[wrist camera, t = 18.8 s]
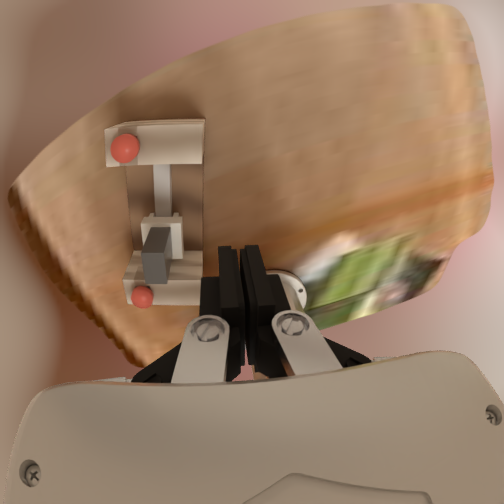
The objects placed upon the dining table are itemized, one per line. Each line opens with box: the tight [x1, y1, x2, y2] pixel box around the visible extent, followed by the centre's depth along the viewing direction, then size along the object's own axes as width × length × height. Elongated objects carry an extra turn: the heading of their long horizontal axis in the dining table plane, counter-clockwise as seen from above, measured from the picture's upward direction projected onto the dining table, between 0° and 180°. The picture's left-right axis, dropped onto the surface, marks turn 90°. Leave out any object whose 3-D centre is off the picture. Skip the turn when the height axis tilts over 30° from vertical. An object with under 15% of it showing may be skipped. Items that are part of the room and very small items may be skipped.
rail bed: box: [105, 118, 205, 305], centre depth 33 cm, size 22×10×8 cm, turn 175°
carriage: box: [141, 213, 184, 284], centre depth 33 cm, size 5×5×9 cm
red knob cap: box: [131, 286, 154, 308], centre depth 34 cm, size 3×3×4 cm
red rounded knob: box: [110, 133, 140, 163], centre depth 25 cm, size 3×3×4 cm
